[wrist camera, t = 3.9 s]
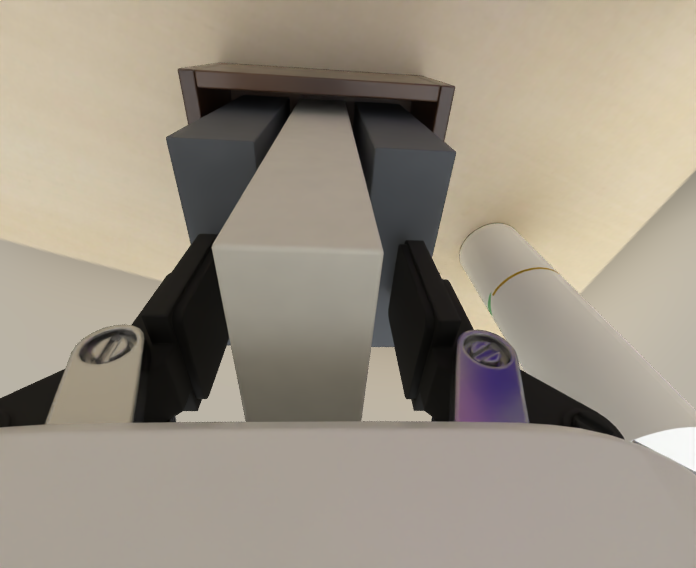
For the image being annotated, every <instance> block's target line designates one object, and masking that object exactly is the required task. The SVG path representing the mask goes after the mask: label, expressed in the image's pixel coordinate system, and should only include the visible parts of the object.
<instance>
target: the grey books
mask: <svg viewBox="0 0 696 568" xmlns="http://www.w3.org/2000/svg"><path fill="white" fill-rule="evenodd" d="M289 116H290V98H289V97H272V96H255V95H242V96H240V97H238V98H237V99H235V100H233V101H231V102H229V103H228V104H226V105H224V106H222V107H220V108H218V109H217V110H215V111H213V112H211V113H209V114H208V115H206V116H204V117H202V118H200V119H198V120H197V121H195V122H193V123H191V124H189V125H187V126H186V127H184V128H182V129H180V130H178V131H177V132H175V133H173V134H171V135H169V136H167V137H166V140H167V145H168V149H169V153H170V157H171V162H172V166H173V170H174V174H175V179H176V183H177V187H178V192H179V196H180V200H181V204H182V209H183V213H184V217H185V221H186V226H187V230H188V234H189V238H190V243H191V244H192V243H193V241H194V240H195V239H196V237H197V236H198V235H199V234H219V233H220V231H221V229H222V228H223V226H224V224H225V223H226V221H227V219H228V218H229V216H230V214H231V213H232V211H233V209H234V208H235V206H236V204H237V203H238V201H239V199H240V198H241V196H242V194H243V193H244V191H245V189H246V188H247V186H248V184H249V183H250V181H251V179H252V178H253V176H254V174H255V173H256V171H257V169H258V168H259V166H260V164H261V163H262V161H263V159H264V158H265V156H266V154H267V153H268V151H269V149H270V148H271V146H272V144H273V143H274V141H275V139H276V138H277V136H278V134H279V133H280V131H281V129H282V128H283V126H284V124H285V123H286V121H287V119H288V118H289ZM353 135H354V139H355V143H356V146H357V150H358V154H359V158H360V162H361V166H362V170H363V174H364V178H365V182H366V185H367V189H368V193H369V197H370V201H371V205H372V209H373V213H374V217H375V221H376V225H377V228H378V232H379V236H380V240H381V244H382V248H383V252H384V255H383V262H382V270H381V277H380V285H379V292H378V300H377V307H376V314H375V322H374V329H373V337H372V344H371V347H394V342H393V338H392V333H391V328H390V323H389V318H388V308H389V301H390V295H391V289H392V283H393V276H394V270H395V264H396V258H397V252H398V246H399V244H404V243H405V241H406V240H418V241H424V243H425V245H426V247H427V249H428V251H429V253H430V255H431V257H432V256H433V251H434V247H435V243H436V238H437V234H438V229H439V225H440V221H441V216H442V212H443V208H444V203H445V199H446V195H447V190H448V186H449V182H450V177H451V173H452V169H453V164H454V160H455V156H456V151H454V150H453V149H452V148H451V147H450V146H448V145H447V144H446V143H445V142H444V141H442V140H441V139H440V138H439V137H438V136H437V135H435V134H434V133H433V132H432V131H431V130H429V129H428V128H427V127H426V126H425V125H423V124H422V123H421V122H420V121H419V120H418V119H416V118H415V117H414V116H413V115H412V114H410V113H409V112H408V111H407V110H406V109H404V108H403V107H402V106H401V105H400V104H390V103H373V102H355V108H354V124H353ZM227 345H231V344H230V339H229V340H228V343H227Z"/></svg>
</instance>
